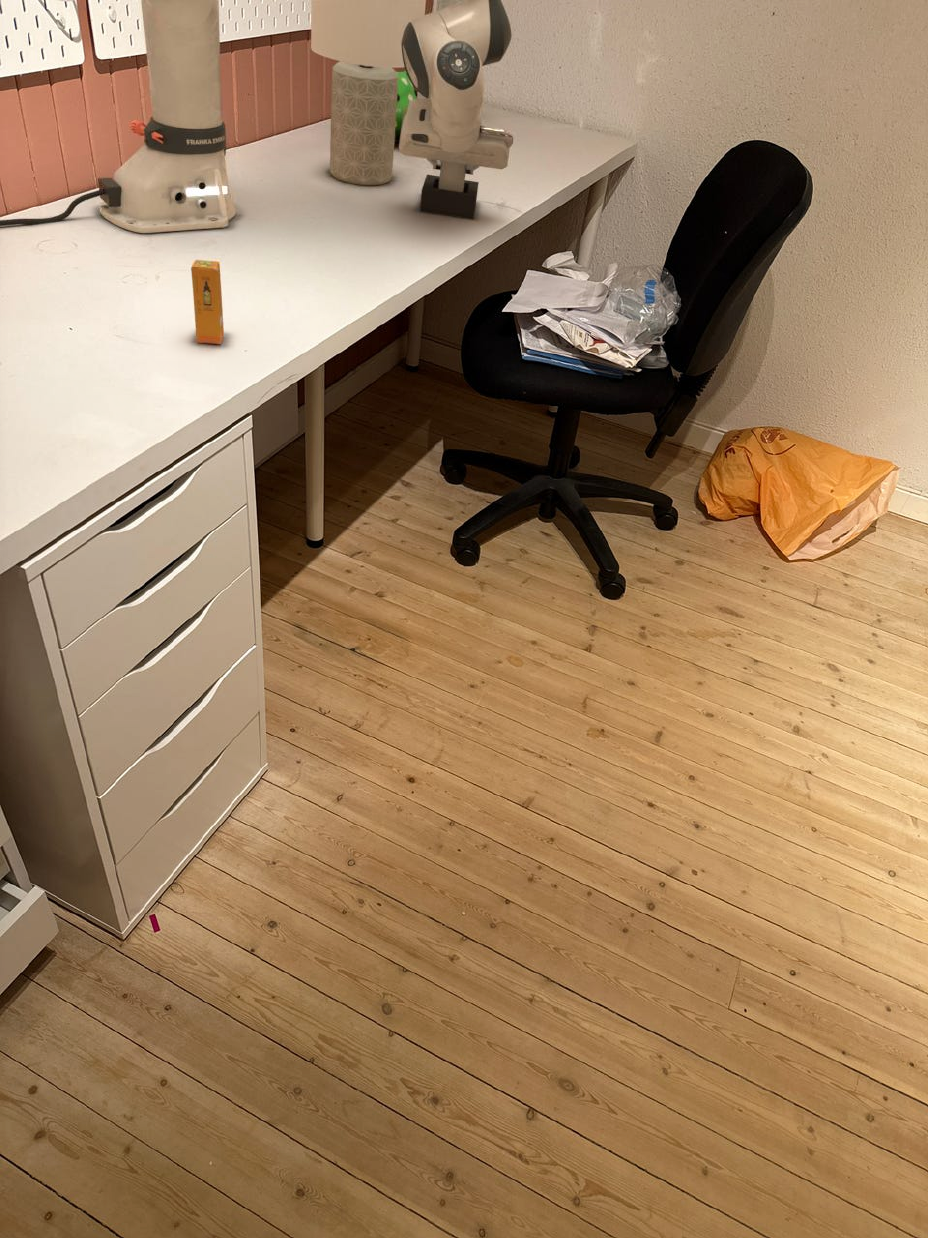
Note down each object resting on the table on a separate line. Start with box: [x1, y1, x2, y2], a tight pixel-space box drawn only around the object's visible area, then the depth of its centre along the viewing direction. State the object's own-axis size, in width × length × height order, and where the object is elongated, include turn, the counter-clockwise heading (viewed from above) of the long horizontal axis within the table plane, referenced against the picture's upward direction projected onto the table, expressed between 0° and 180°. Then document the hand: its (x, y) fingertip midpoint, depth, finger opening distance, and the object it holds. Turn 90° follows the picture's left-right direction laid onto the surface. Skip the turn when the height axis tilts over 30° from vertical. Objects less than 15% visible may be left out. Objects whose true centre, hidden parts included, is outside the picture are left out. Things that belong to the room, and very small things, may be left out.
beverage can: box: [438, 161, 466, 192], centre depth 175 cm, size 5×5×12 cm
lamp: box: [310, 0, 427, 186], centre depth 174 cm, size 21×21×42 cm
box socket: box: [419, 174, 479, 220], centre depth 177 cm, size 10×10×4 cm
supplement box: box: [190, 259, 225, 345], centre depth 120 cm, size 3×3×10 cm
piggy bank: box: [394, 69, 419, 143], centre depth 206 cm, size 14×18×15 cm
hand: (453, 168), depth 175 cm, fingers closed on beverage can, 5 cm apart
